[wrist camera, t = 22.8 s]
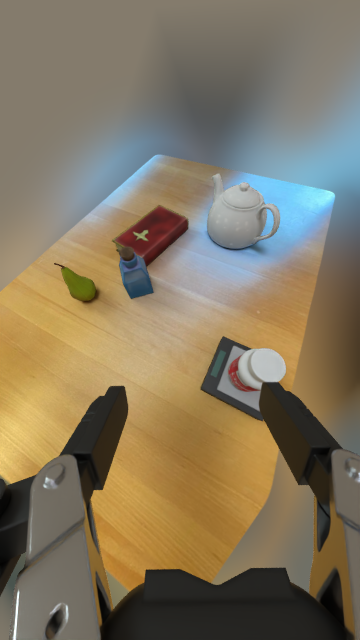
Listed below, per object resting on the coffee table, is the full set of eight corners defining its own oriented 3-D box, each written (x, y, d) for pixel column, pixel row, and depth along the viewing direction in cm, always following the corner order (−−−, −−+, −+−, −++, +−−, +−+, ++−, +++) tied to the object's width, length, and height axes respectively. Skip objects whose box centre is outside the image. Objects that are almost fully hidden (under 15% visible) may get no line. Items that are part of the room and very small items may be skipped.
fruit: (105, 294, 45) (80, 261, 34) (85, 309, 43) (53, 279, 32) (90, 282, 47) (63, 246, 36) (71, 296, 45) (36, 263, 34)
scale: (272, 362, 37) (279, 360, 34) (257, 419, 32) (264, 421, 29) (220, 339, 39) (223, 335, 36) (200, 389, 35) (201, 388, 32)
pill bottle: (220, 377, 33) (236, 367, 23) (236, 353, 35) (258, 334, 25) (248, 399, 31) (280, 399, 21) (264, 372, 33) (299, 361, 23)
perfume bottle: (126, 281, 47) (109, 245, 36) (148, 275, 48) (137, 238, 37) (130, 298, 44) (113, 266, 34) (153, 292, 45) (144, 258, 34)
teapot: (200, 250, 51) (206, 203, 39) (207, 213, 59) (213, 164, 47) (263, 257, 50) (289, 210, 37) (261, 218, 57) (283, 168, 45)
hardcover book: (188, 229, 56) (188, 217, 52) (145, 269, 49) (141, 257, 45) (160, 216, 59) (159, 203, 55) (116, 251, 52) (111, 239, 48)
